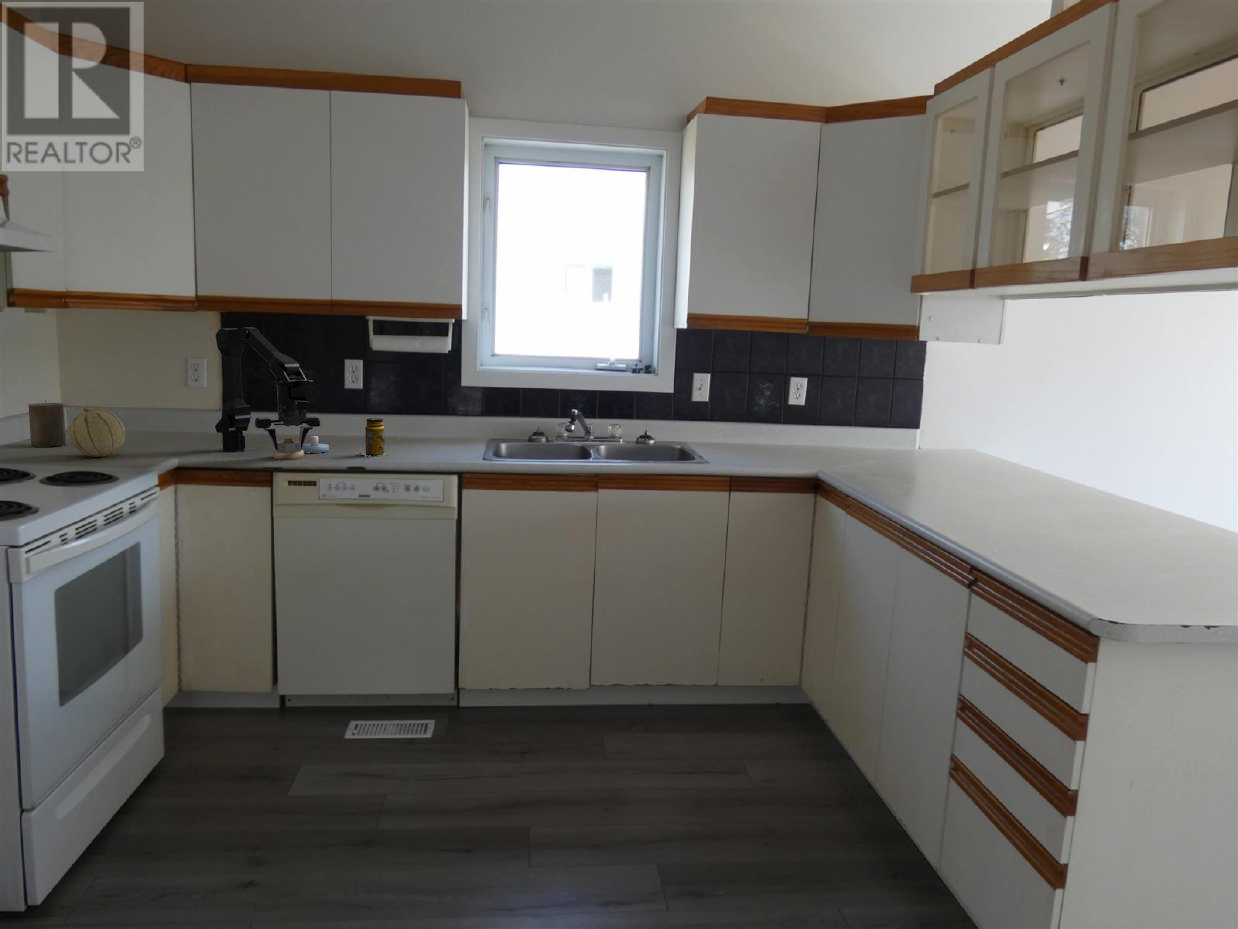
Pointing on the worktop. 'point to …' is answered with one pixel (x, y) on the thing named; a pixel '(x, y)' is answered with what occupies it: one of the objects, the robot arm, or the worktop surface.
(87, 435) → the cantaloupe
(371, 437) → the condiment
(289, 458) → the stand
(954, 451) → the worktop surface
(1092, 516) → the worktop surface
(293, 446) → the ring
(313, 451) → the hub
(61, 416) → the pillar candle
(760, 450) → the worktop surface
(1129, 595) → the worktop surface
